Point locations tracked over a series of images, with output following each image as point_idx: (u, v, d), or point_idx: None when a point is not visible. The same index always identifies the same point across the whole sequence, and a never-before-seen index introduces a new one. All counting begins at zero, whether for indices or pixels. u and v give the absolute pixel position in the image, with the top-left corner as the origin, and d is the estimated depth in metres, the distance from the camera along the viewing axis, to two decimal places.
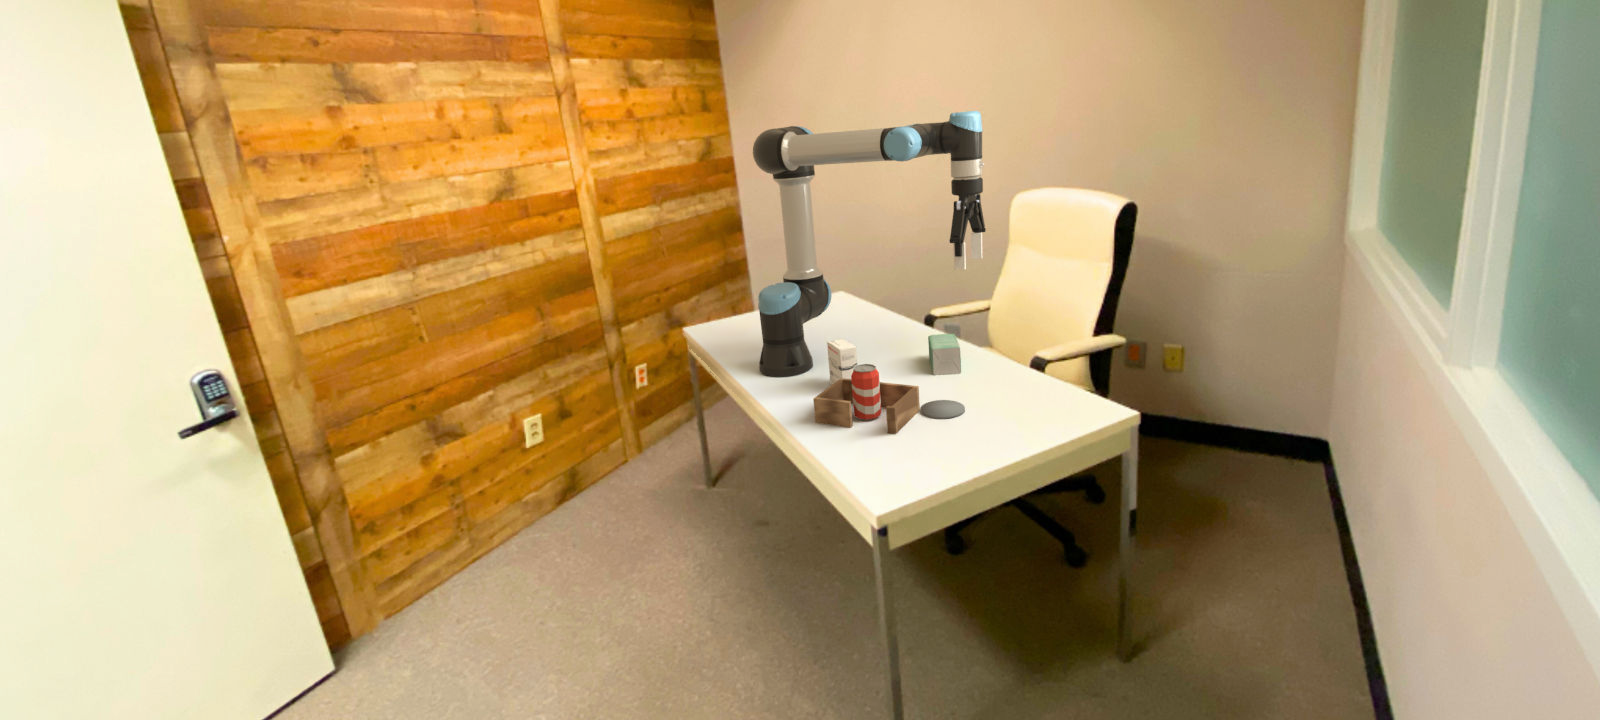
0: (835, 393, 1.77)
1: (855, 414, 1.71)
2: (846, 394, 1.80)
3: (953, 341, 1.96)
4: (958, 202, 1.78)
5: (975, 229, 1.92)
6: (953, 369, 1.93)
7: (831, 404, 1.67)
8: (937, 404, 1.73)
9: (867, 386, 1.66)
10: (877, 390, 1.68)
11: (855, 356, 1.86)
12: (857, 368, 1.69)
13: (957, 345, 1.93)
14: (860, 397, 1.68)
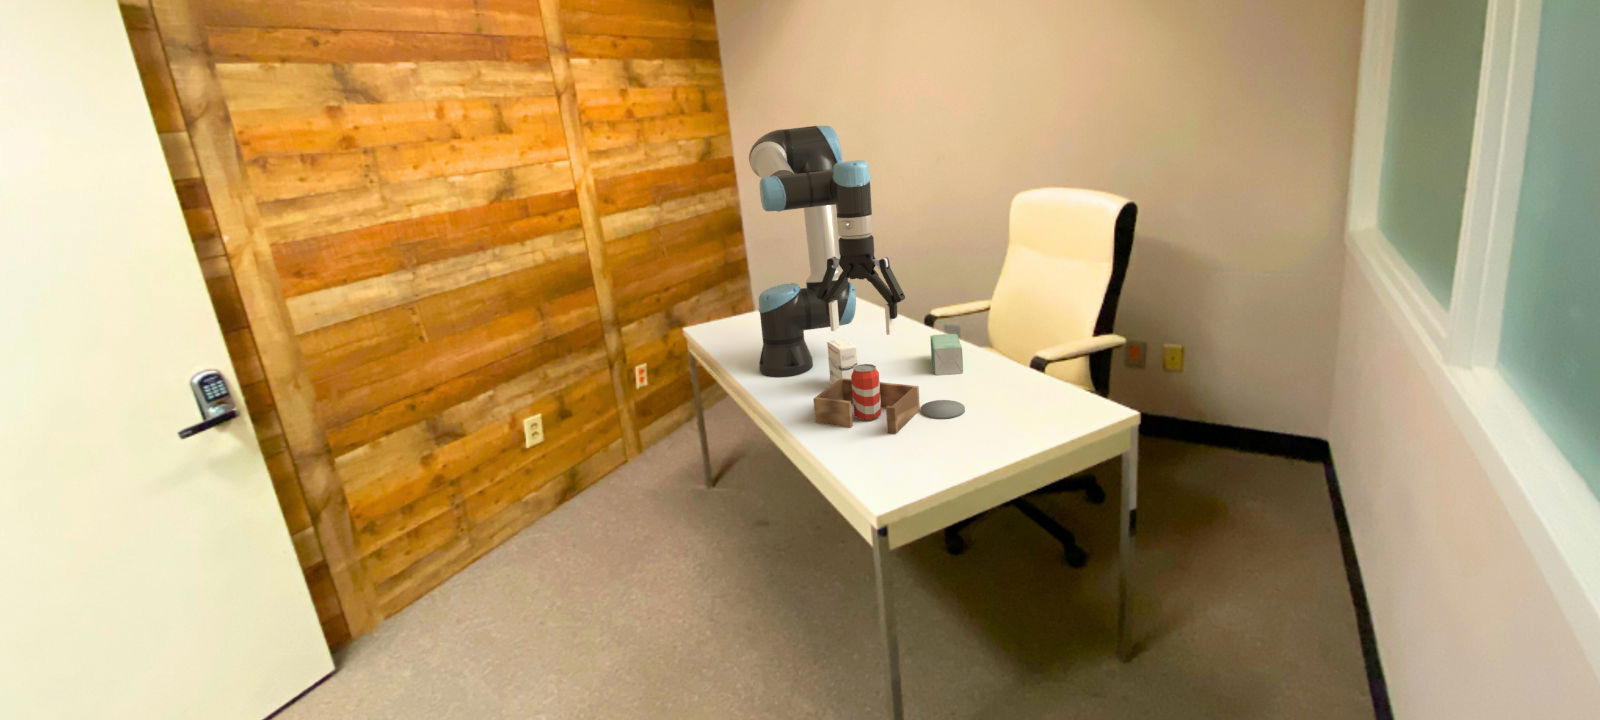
0: (835, 393, 1.77)
1: (855, 414, 1.71)
2: (846, 394, 1.80)
3: (955, 342, 1.96)
4: None
5: None
6: (954, 369, 1.93)
7: (831, 404, 1.67)
8: (937, 404, 1.73)
9: (867, 386, 1.66)
10: (877, 390, 1.68)
11: (855, 356, 1.86)
12: (857, 368, 1.69)
13: (959, 345, 1.93)
14: (860, 397, 1.68)
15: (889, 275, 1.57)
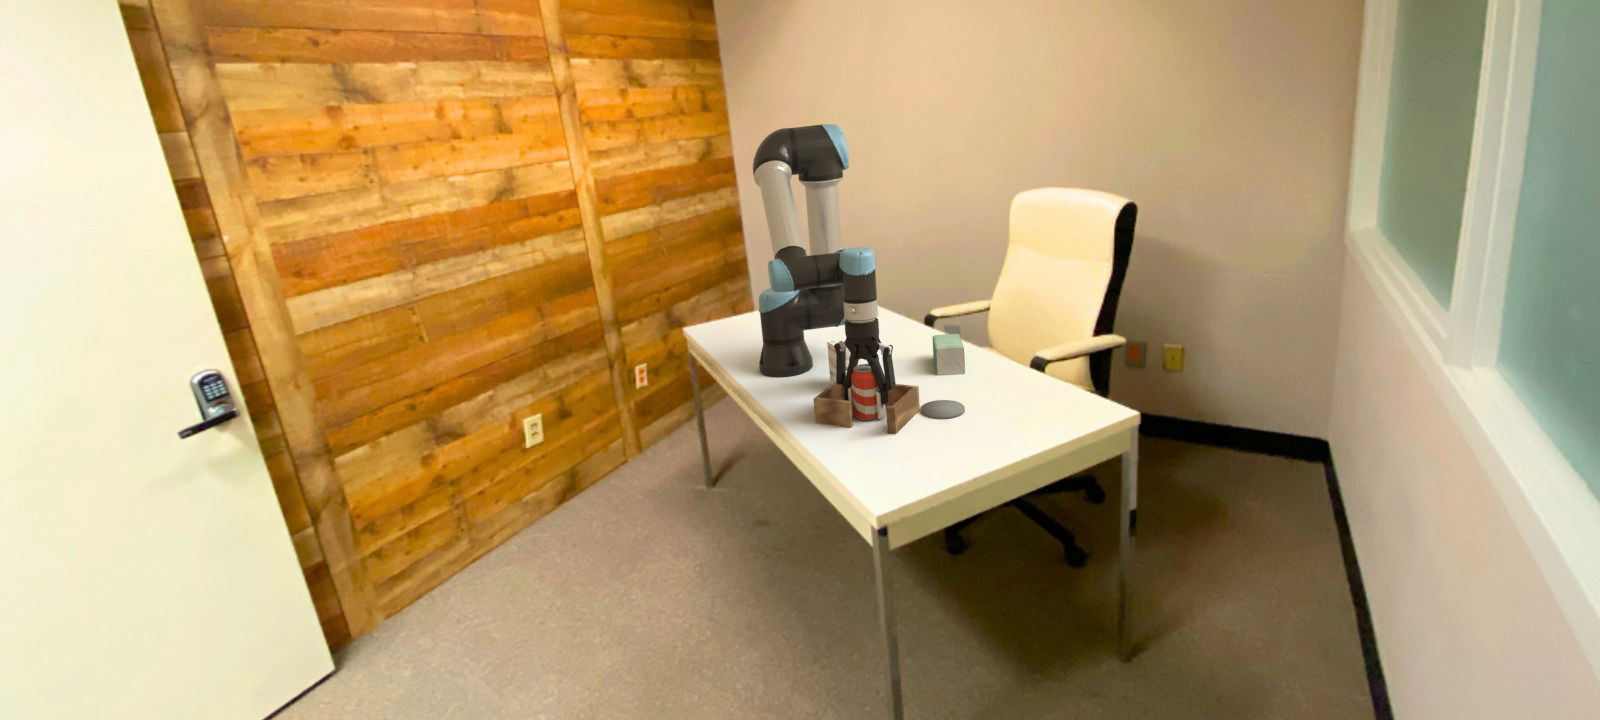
0: (835, 393, 1.77)
1: (855, 414, 1.71)
2: None
3: (957, 342, 1.96)
4: None
5: None
6: (957, 369, 1.93)
7: (831, 404, 1.67)
8: (937, 404, 1.73)
9: (867, 386, 1.66)
10: (877, 390, 1.68)
11: None
12: (857, 368, 1.69)
13: (961, 345, 1.92)
14: (860, 397, 1.68)
15: (888, 364, 1.64)
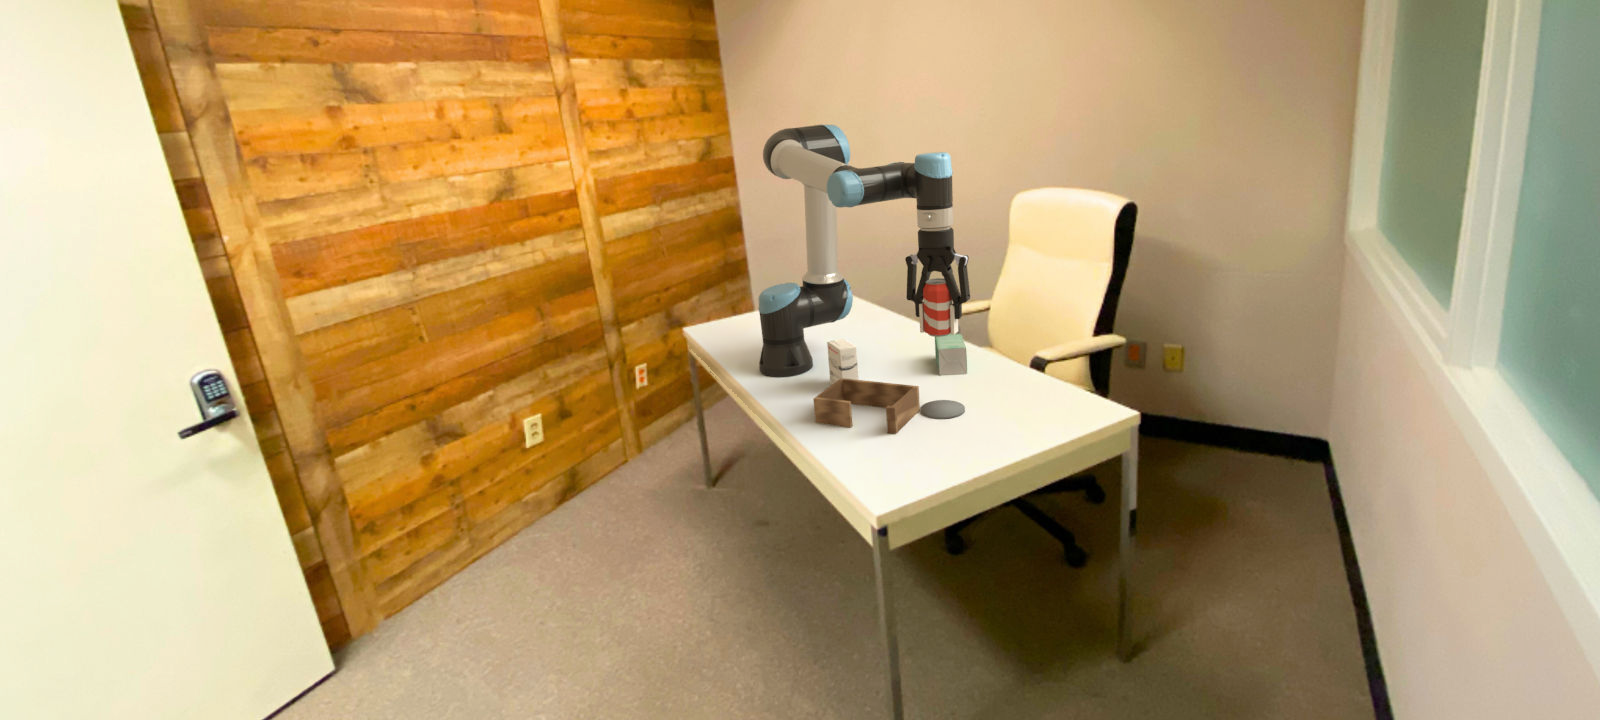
0: (835, 393, 1.77)
1: (926, 330, 1.64)
2: (846, 394, 1.80)
3: (959, 342, 1.95)
4: None
5: None
6: (959, 369, 1.93)
7: (831, 404, 1.67)
8: (937, 404, 1.73)
9: (941, 300, 1.60)
10: (950, 304, 1.61)
11: (855, 356, 1.86)
12: (929, 282, 1.63)
13: (963, 345, 1.92)
14: (933, 311, 1.61)
15: (964, 274, 1.57)
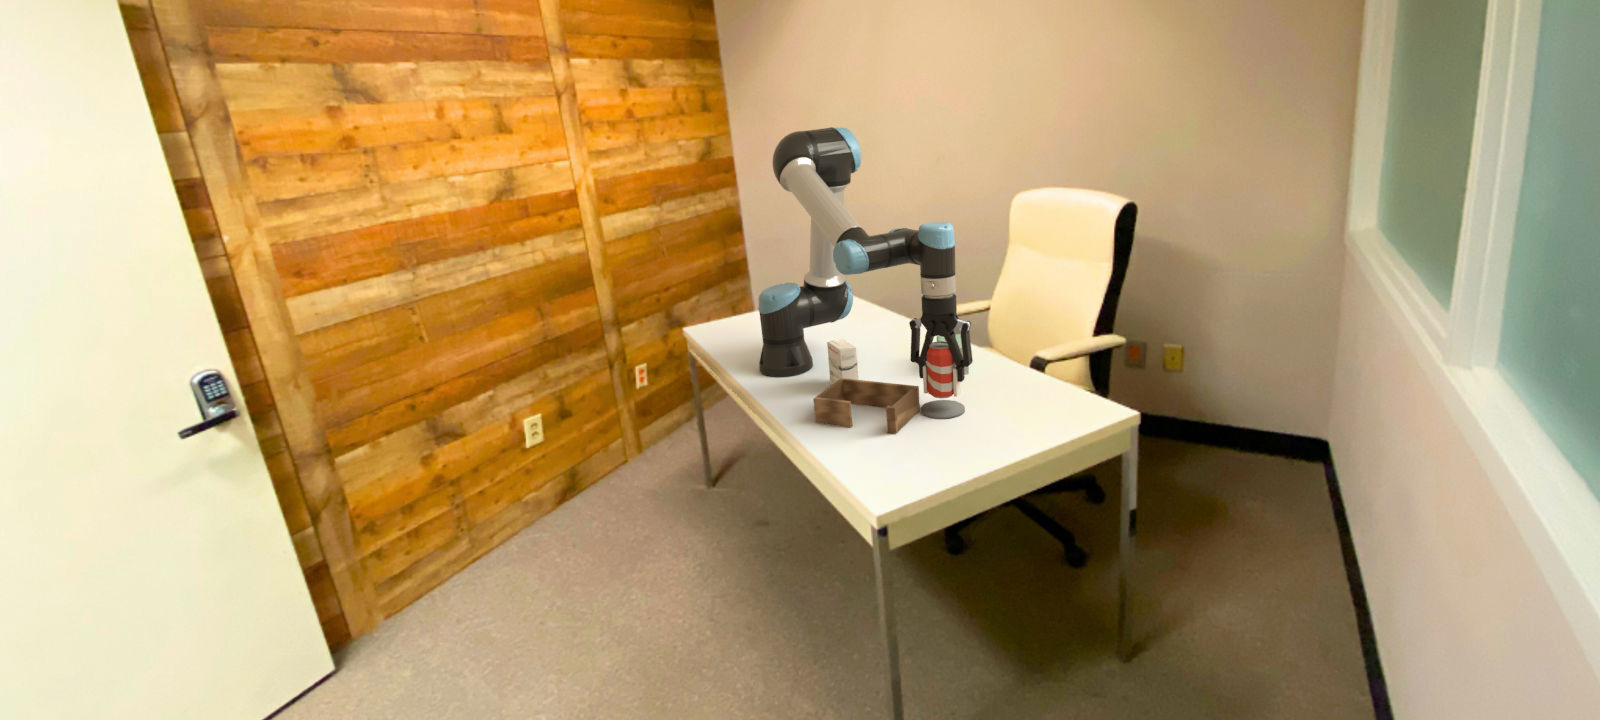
0: (835, 393, 1.77)
1: (930, 392, 1.69)
2: (846, 394, 1.80)
3: None
4: None
5: None
6: None
7: (831, 404, 1.67)
8: (937, 404, 1.73)
9: (944, 363, 1.64)
10: (953, 367, 1.66)
11: (855, 356, 1.86)
12: (932, 345, 1.67)
13: None
14: (936, 374, 1.66)
15: (967, 340, 1.62)
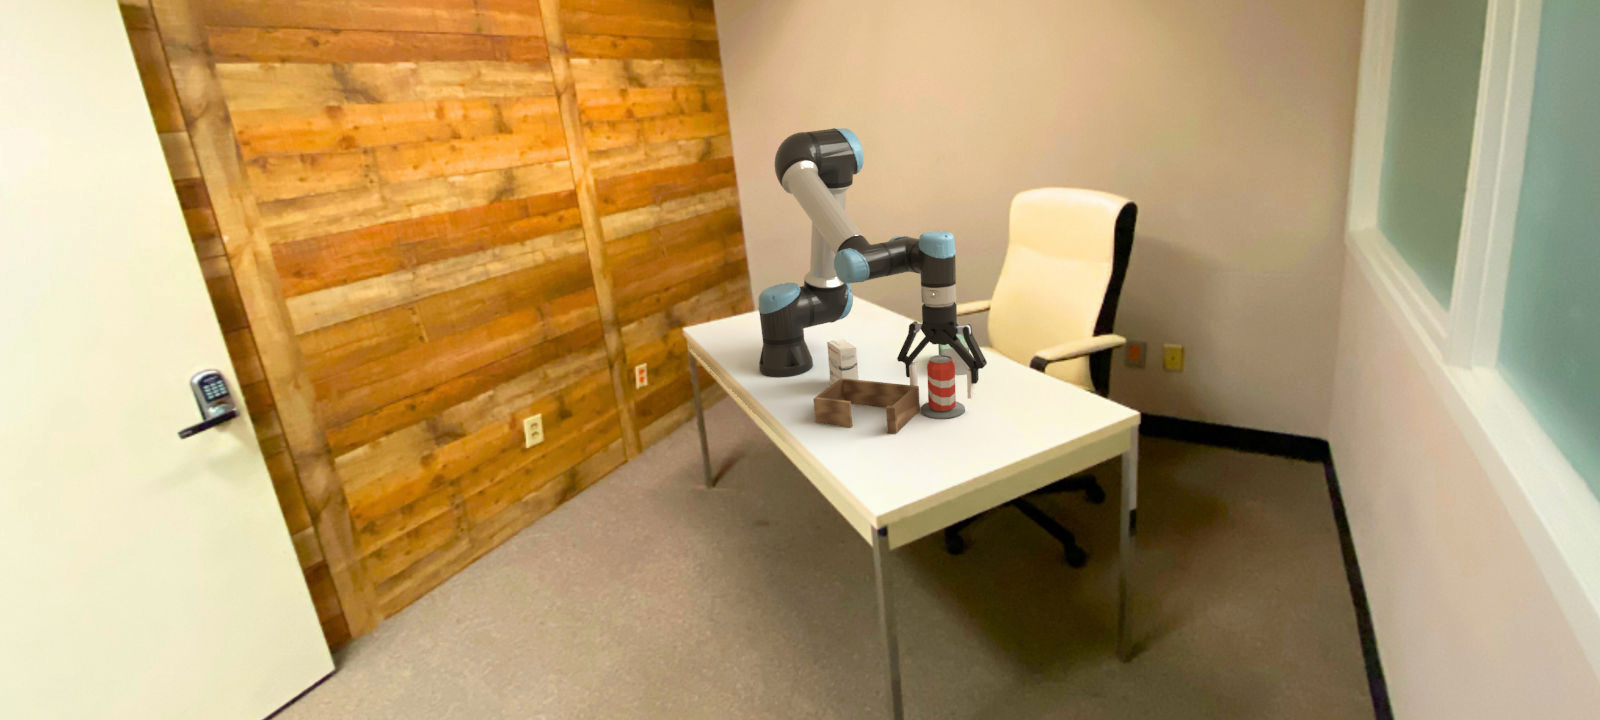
0: (835, 393, 1.77)
1: (930, 405, 1.70)
2: (846, 394, 1.80)
3: (962, 342, 1.95)
4: None
5: None
6: (962, 369, 1.92)
7: (831, 404, 1.67)
8: None
9: (944, 378, 1.66)
10: (953, 381, 1.67)
11: (855, 356, 1.86)
12: (933, 359, 1.68)
13: (966, 345, 1.92)
14: (937, 388, 1.67)
15: (972, 342, 1.62)
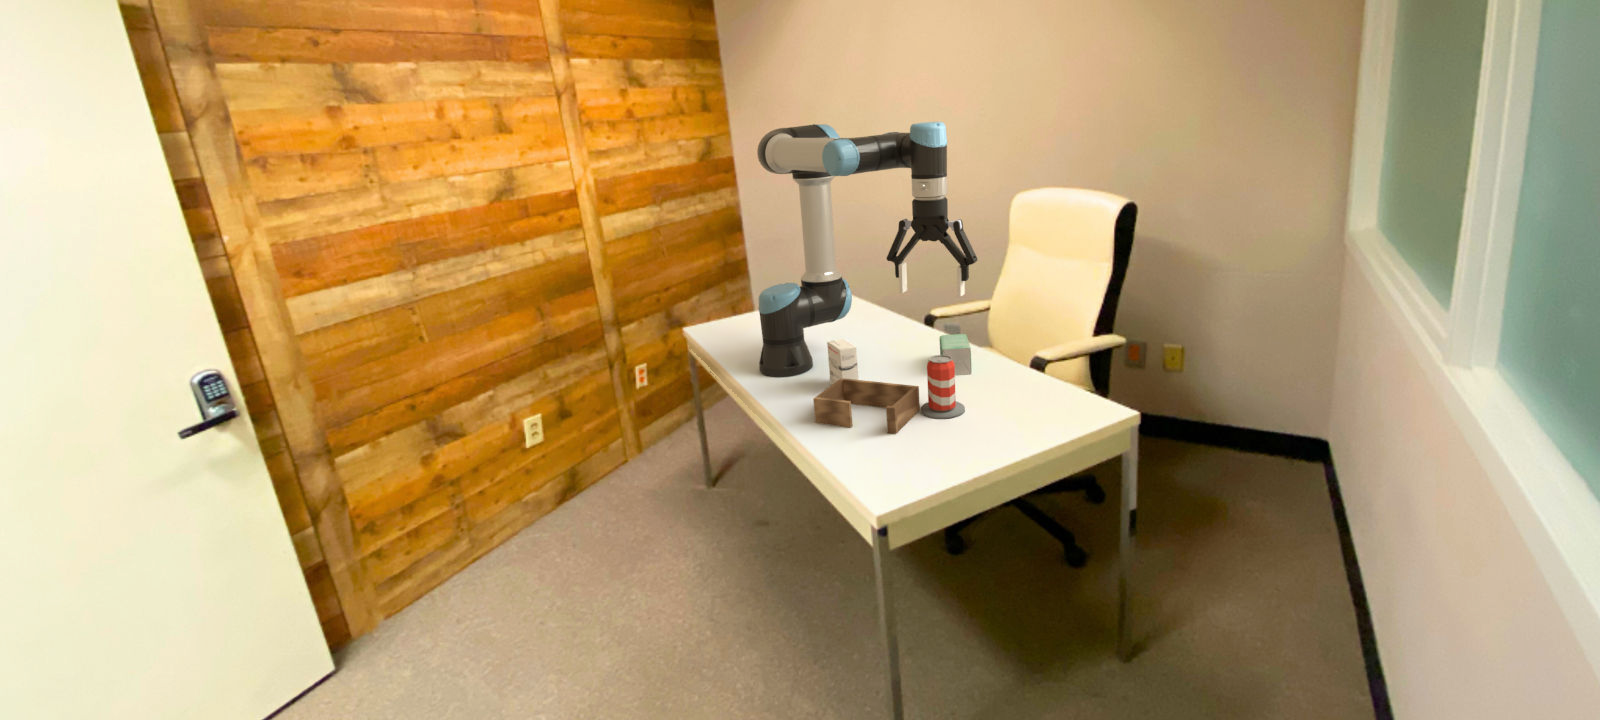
0: (835, 393, 1.77)
1: (930, 405, 1.70)
2: (846, 394, 1.80)
3: (963, 342, 1.95)
4: None
5: None
6: (963, 369, 1.92)
7: (831, 404, 1.67)
8: None
9: (944, 377, 1.66)
10: (953, 381, 1.67)
11: (855, 356, 1.86)
12: (933, 359, 1.68)
13: (968, 346, 1.92)
14: (936, 388, 1.67)
15: (963, 237, 1.58)
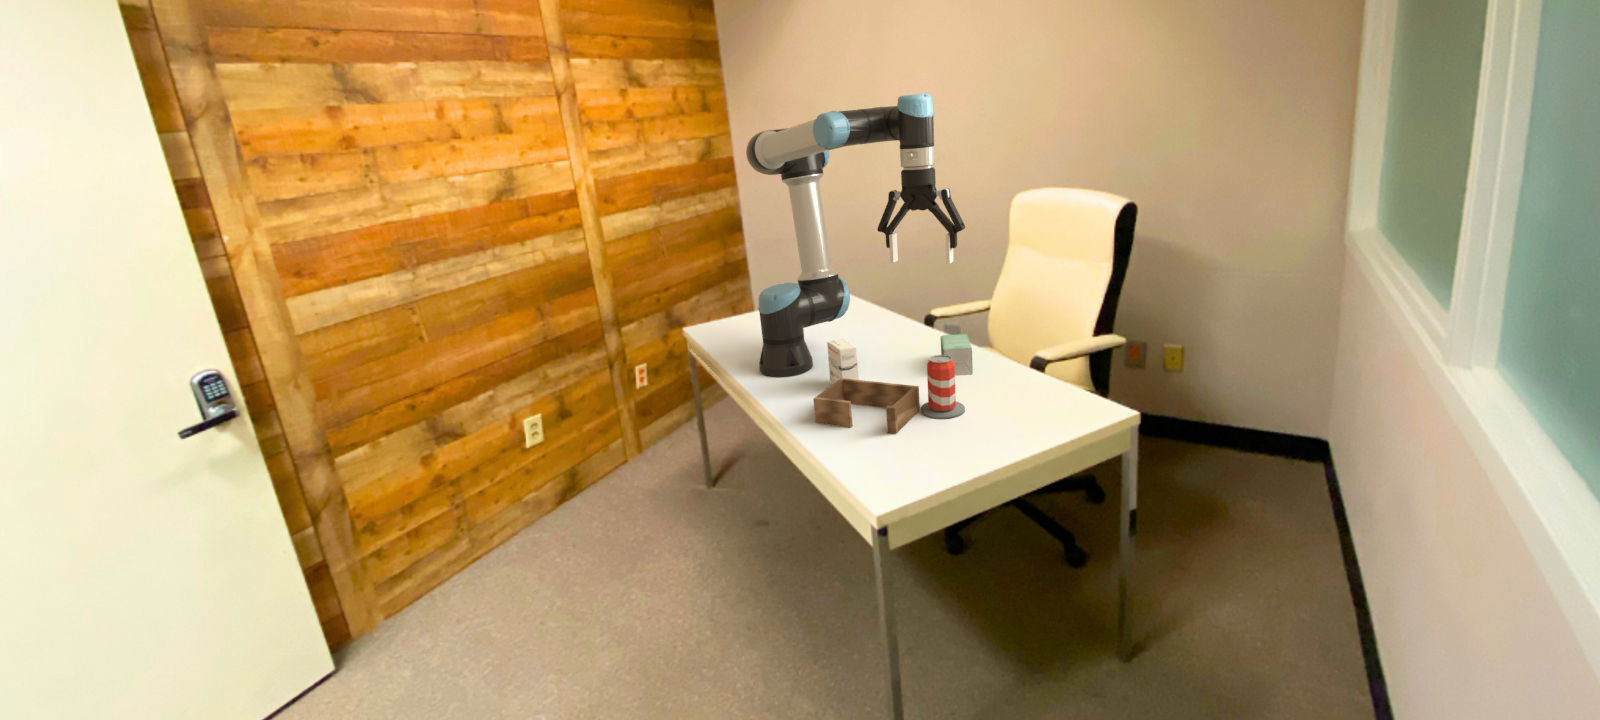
0: (835, 393, 1.77)
1: (930, 405, 1.70)
2: (846, 394, 1.80)
3: (965, 342, 1.95)
4: None
5: None
6: (964, 369, 1.92)
7: (831, 404, 1.67)
8: None
9: (944, 378, 1.66)
10: (953, 381, 1.67)
11: (855, 356, 1.86)
12: (933, 359, 1.68)
13: (969, 346, 1.91)
14: (936, 388, 1.67)
15: (951, 205, 1.63)
